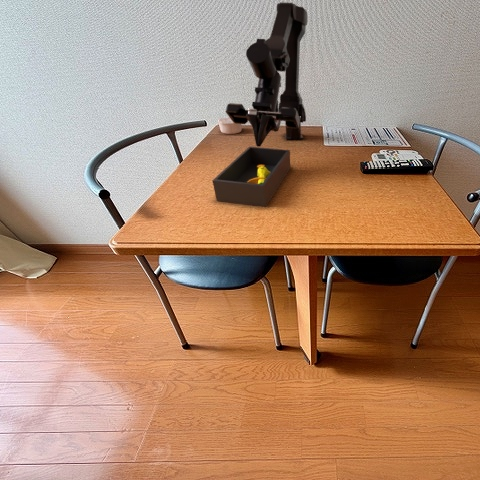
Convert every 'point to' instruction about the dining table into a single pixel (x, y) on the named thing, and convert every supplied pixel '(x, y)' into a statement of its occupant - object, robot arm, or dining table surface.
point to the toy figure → (260, 175)
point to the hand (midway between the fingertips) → (258, 145)
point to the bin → (252, 176)
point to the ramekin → (229, 126)
